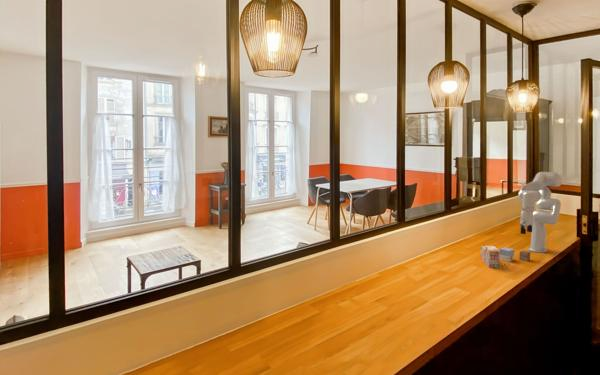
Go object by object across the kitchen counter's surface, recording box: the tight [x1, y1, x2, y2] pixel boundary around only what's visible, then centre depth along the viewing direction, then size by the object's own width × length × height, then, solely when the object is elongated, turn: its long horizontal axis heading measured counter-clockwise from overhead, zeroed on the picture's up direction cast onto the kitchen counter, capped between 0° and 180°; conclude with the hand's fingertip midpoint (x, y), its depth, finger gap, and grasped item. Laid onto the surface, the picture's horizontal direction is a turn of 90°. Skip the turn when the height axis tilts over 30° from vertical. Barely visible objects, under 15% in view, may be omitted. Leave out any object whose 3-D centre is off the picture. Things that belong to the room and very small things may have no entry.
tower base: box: [499, 254, 515, 263], centre depth 276 cm, size 7×7×4 cm
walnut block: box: [518, 250, 531, 262], centre depth 275 cm, size 5×5×6 cm
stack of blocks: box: [480, 245, 500, 269], centre depth 268 cm, size 21×6×12 cm, turn 168°
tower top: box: [498, 246, 515, 257], centre depth 275 cm, size 7×7×4 cm
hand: (526, 232), depth 272 cm, fingers open, 9 cm apart
